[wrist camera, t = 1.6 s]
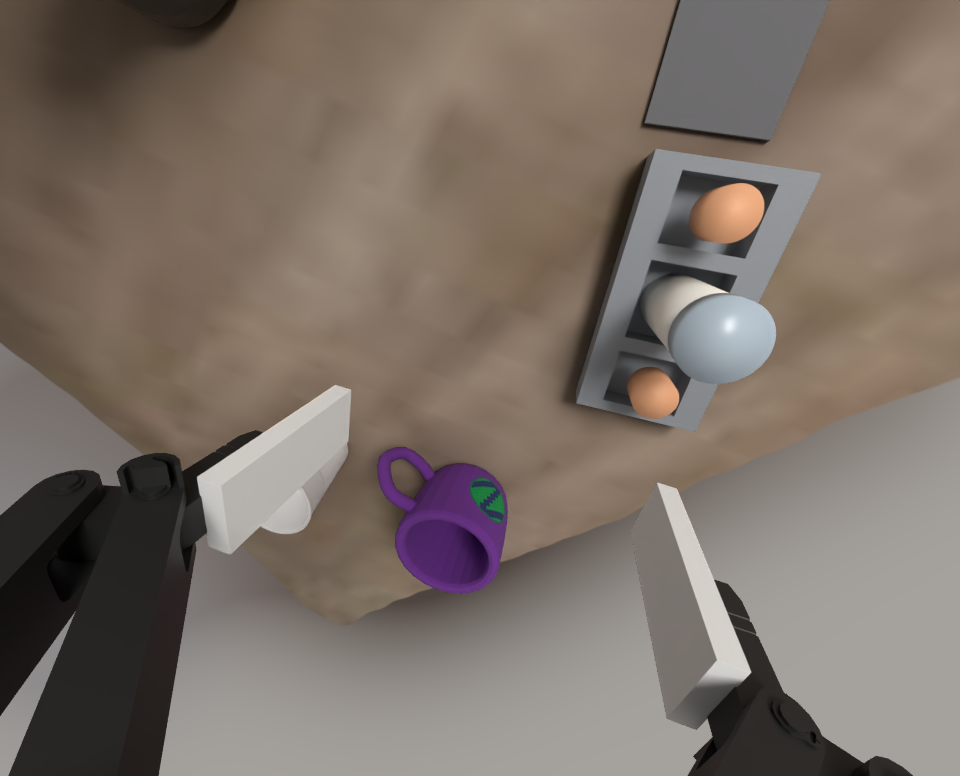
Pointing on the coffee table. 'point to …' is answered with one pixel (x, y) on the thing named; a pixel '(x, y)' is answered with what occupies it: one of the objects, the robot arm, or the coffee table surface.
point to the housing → (683, 270)
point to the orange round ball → (652, 393)
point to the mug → (448, 523)
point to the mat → (733, 65)
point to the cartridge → (708, 328)
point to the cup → (305, 498)
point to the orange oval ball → (727, 213)
